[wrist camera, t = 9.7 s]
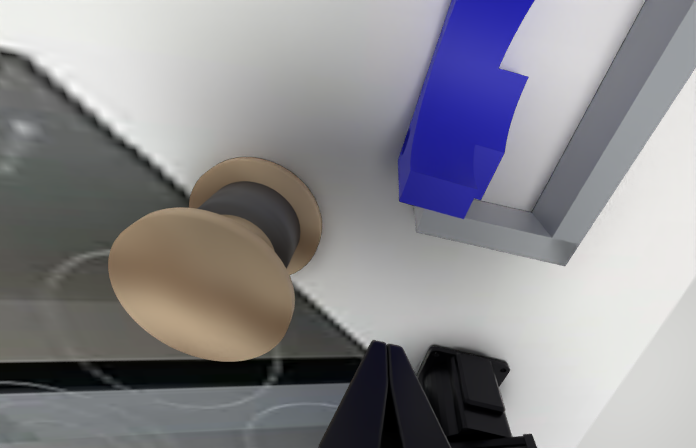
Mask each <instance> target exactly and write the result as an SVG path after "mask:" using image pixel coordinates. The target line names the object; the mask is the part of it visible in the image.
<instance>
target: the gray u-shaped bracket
mask: <svg viewBox="0 0 696 448" xmlns="http://www.w3.org/2000/svg"><path fill="white" fill-rule="evenodd" d="M695 68H696V0H646V1H645V3H644V5H643V7H642V9H641V11H640V13H639V14H638V16H637V18H636V20H635V22H634V24H633V26H632V27H631V29H630V31H629V33H628V35H627V37H626V39H625V40H624V42H623V44H622V46H621V48H620V50H619V52H618V53H617V55H616V57H615V59H614V61H613V63H612V65H611V66H610V68H609V70H608V72H607V74H606V76H605V78H604V79H603V81H602V83H601V85H600V87H599V89H598V91H597V92H596V94H595V96H594V98H593V100H592V102H591V104H590V105H589V107H588V109H587V111H586V113H585V115H584V117H583V118H582V120H581V122H580V124H579V126H578V128H577V130H576V131H575V133H574V135H573V137H572V139H571V141H570V143H569V144H568V146H567V148H566V150H565V152H564V154H563V156H562V157H561V159H560V161H559V163H558V165H557V167H556V169H555V170H554V172H553V174H552V176H551V178H550V180H549V182H548V183H547V185H546V187H545V189H544V191H543V193H542V195H541V196H540V198H539V200H538V202H537V204H536V206H535V208H534V209H533V211H532V213H531V212H527V211H523V210H518V209H514V208H509V207H505V206H501V205H496V204H492V203H487V202H483V201H479V200H473V202H472V204H471V206H470V208H469V210H468V212H467V214H466V216H465V218H464V219H461V218H457V217H453V216H450V215H446V214H442V213H439V212H435V211H432V210H428V209H424V208H421V207H417V206H414V208H413V209H414V217H415V226H416V232H418V233H422V234H427V235H431V236H435V237H440V238H444V239H448V240H453V241H457V242H462V243H466V244H470V245H475V246H479V247H483V248H488V249H492V250H496V251H501V252H505V253H510V254H514V255H518V256H523V257H527V258H531V259H536V260H540V261H544V262H549V263H553V264H558V265H562V266H566V264H567V263H568V261H569V260H570V258H571V257H572V255H573V254H574V252H575V250H576V249H577V247H578V246H579V244H580V243H581V241H582V240H583V238H584V237H585V235H586V234H587V232H588V231H589V229H590V228H591V226H592V225H593V223H594V222H595V220H596V219H597V217H598V215H599V214H600V212H601V211H602V209H603V208H604V206H605V205H606V203H607V202H608V200H609V199H610V197H611V196H612V194H613V193H614V191H615V190H616V188H617V187H618V185H619V184H620V182H621V180H622V179H623V177H624V176H625V174H626V173H627V171H628V170H629V168H630V167H631V165H632V164H633V162H634V161H635V159H636V158H637V156H638V155H639V153H640V152H641V150H642V149H643V147H644V146H645V144H646V142H647V141H648V139H649V138H650V136H651V135H652V133H653V132H654V130H655V129H656V127H657V126H658V124H659V123H660V121H661V120H662V118H663V117H664V115H665V114H666V112H667V111H668V109H669V107H670V106H671V104H672V103H673V101H674V100H675V98H676V97H677V95H678V94H679V92H680V91H681V89H682V88H683V86H684V85H685V83H686V82H687V80H688V79H689V77H690V76H691V74H692V73H693V71H694V69H695Z"/></svg>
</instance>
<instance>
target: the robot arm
mask: <svg viewBox="0 0 696 448" xmlns="http://www.w3.org/2000/svg"><path fill="white" fill-rule="evenodd" d="M509 371H510V369H509V366H508V364H507V363H505V362H502V361H497V360H493V359H489V358H485V357H480V356H476V355H472V354H467V353H463V352H459V351H454V350H450V349H446V348H441V347H437V346H433V347H431V348H430V349H429V350H428V353H427V355H426V357H425V359H424V361H423V363H422V365H421V367H420V370H419V372H418V374H417V376H416V374H415V372H414V370H413V368H412V366H411V364H410V362H409V360H408V358H407V356H406V354H405V352H404V350H403V348H402V347H401V346H398V345H393V344H387V345H386V343H384V342H381V341H376V340H373V341H372V342H371V343H370V345H369V347H368V349H367V351H366V353H365V355H364V357H363V359H362V361H361V363H360V365H359V367H358V369H357V371H356V373H355V375H354V377H353V379H352V381H351V383H350V385H349V387H348V389H347V391H346V393H345V395H344V397H343V399H342V401H341V403H340V405H339V407H338V409H337V411H336V413H335V415H334V416H333V418H332V420H331V422H330V424H329V426H328V428H327V430H326V432H325V434H324V436H323V438H322V440H321V442H320V444H319V447H318V448H537V446H536V444H535V441H534V439H533V436H532V434H523V436H518V437H512V434H511V431H510V427H509V424H508V421H507V417H506V414H505V406H504V403H503V400H502V396H501V393H500V390H499V386H500V385H501V383H502V382H503V380H504V379H505V377H506V376H507V375H508V373H509Z"/></svg>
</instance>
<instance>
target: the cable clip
mask: <svg viewBox="0 0 696 448" xmlns="http://www.w3.org/2000/svg"><path fill="white" fill-rule="evenodd" d="M533 2H534V0H451V3H450V6H449V9H448V12H447V15H446V18H445V21H444V24H443V27H442V30H441V33H440V36H439V39H438V42H437V45H436V48H435V51H434V54H433V57H432V60H431V63H430V66H429V69H428V72H427V75H426V78H425V81H424V84H423V87H422V90H421V93H420V96H419V99H418V102H417V105H416V108H415V111H414V114H413V117H412V120H411V123H410V126H409V129H408V132H407V135H406V138H405V141H404V144H403V147H402V150H401V153H400V156H399V159H398V178H399V202H403V203H406V204H410V205H414V206H417V207H421V208H424V209H428V210H432V211H435V212H439V213H442V214H446V215H450V216H453V217H457V218H461V219H464V218H465V216H466V214H467V212H468V210H469V208H470V206H471V204H472V202H473V200H474V198H475V199H478V200H481V199H482V197H483V195H484V193H485V191H486V189H487V187H488V185H489V183H490V181H491V179H492V177H493V175H494V173H495V171H496V169H497V167H498V165H499V163H500V161H501V159H502V157H503V155H504V153H505V146H506V140H507V136H508V131H509V128H510V124H511V121H512V117H513V114H514V111H515V109H516V106H517V103H518V100H519V98H520V95H521V93H522V91H523V88H524V86H525V84H526V82H527V79H528V77H527V76H524V75H520V74H516V73H513V72H509V71H506V70H502V69H499V66H500V64H501V62H502V59H503V57H504V55H505V53H506V51H507V49H508V47H509V45H510V43H511V41H512V39H513V37H514V35H515V33H516V31H517V29H518V28H519V26H520V24H521V22H522V20H523V19H524V17H525V15H526V14H527V12H528V10H529V8H530V7H531V5H532V4H533Z"/></svg>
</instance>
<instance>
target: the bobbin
mask: <svg viewBox="0 0 696 448" xmlns="http://www.w3.org/2000/svg"><path fill="white" fill-rule="evenodd" d="M321 233H322V219H321V214H320V210H319V207H318V204H317V202H316V200H315V198H314V196H313V195H312V193H311V192H310V190H309V189H308V188H307V186H306V185H305V184H304V183H303V182H302V181H301V180H300V179H299V178H298V177H297V176H296V175H294V174H293V173H292V172H290V171H289V170H287V169H286V168H284V167H282V166H280V165H278V164H276V163H273V162H271V161H268V160H264V159H260V158H254V157H240V158H233V159H229V160H226V161H223V162H221V163H219V164H217V165H216V166H214V167H213V168H211V169H210V170H208V171H207V172H206V173H205V174H203V175H202V176H201V177H200V179H199V180H198V181H197V182H196V184H195V186H194V188H193V190H192V193H191V195H190V201H189V208H182V207H178V208H167V209H163V210H158V211H155V212H153V213H150V214H147V215H146V216H144V217H142V218H141V219H139V220H138V221H136V222H135V223H133V224H132V225H131V226H129V227H128V228H126V229H125V230H124V231H123V232H122V233H121V234H120V235H119V236H118V238H117V239H116V240H115V242H114V244H113V246H112V248H111V250H110V255H109V262H108V270H109V277H110V281H111V284H112V287H113V289H114V292H115V294H116V296H117V298H118V299H119V301H120V303H121V304H122V306H123V307H124V308H125V310H126V311H127V312H128V314H129V315H130V316H131V317H132V318H133V319H134V320H135V321H136V322H137V323H138V324H139V325H140V326H141V327H142V328H143V329H144V330H146V331H147V332H148V333H150V334H151V335H152V336H154V337H155V338H157V339H158V340H160V341H161V342H163V343H165V344H167V345H169V346H170V347H172V348H175V349H177V350H179V351H181V352H184V353H187V354H189V355H192V356H196V357H199V358H203V359H208V360H215V361H243V360H248V359H252V358H255V357H258V356H261V355H263V354H265V353H267V352H268V351H270V350H271V349H273V348H274V347H275V346H276V345H277V344H278V343H279V342H280V341H281V340H282V338H283V337H284V335H285V333H286V331H287V329H288V327H289V324H290V321H291V318H292V315H293V311H294V306H295V295H294V288H293V284H292V281H291V278H290V276H289V275H291V274H294V273H296V272H297V271H299V270H301V269H302V268H303V267H304V266H306V265H307V263H308V262H309V261H310V260H311V259H312V257H313V256H314V254H315V252H316V249H317V247H318V244H319V242H320V238H321Z"/></svg>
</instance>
